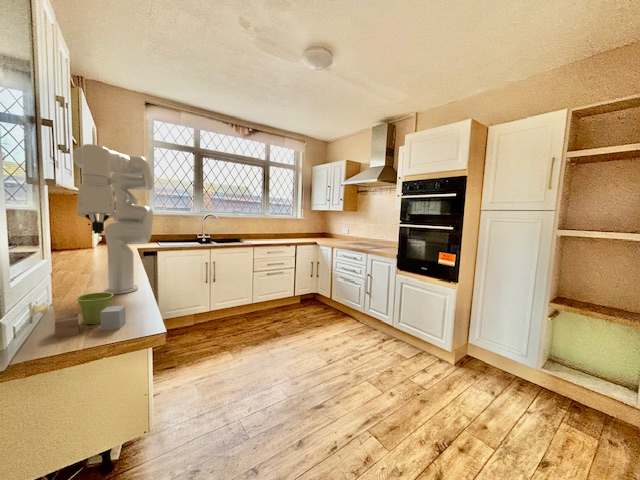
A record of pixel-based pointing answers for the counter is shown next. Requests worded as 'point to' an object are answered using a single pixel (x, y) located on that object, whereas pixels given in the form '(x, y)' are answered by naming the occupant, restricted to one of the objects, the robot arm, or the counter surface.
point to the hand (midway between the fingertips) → (98, 233)
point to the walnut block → (66, 326)
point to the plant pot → (93, 306)
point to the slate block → (113, 317)
